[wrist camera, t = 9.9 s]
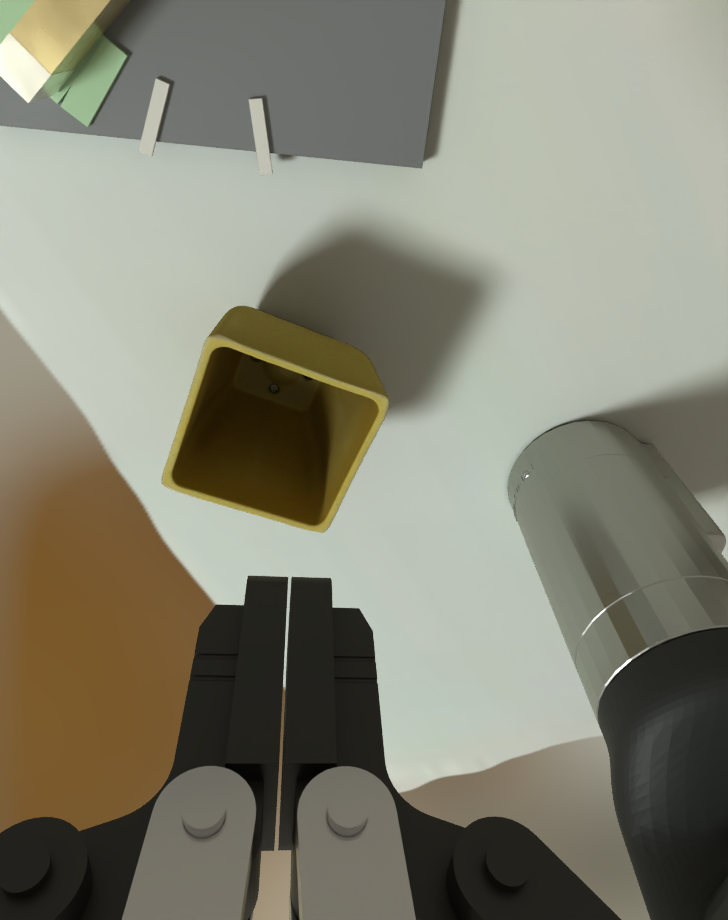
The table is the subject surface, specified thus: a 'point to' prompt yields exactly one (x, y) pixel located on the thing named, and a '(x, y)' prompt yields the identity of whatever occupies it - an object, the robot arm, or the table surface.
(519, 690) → the table surface
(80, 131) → the board
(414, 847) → the robot arm
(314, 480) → the flower pot
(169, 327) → the table surface
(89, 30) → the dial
